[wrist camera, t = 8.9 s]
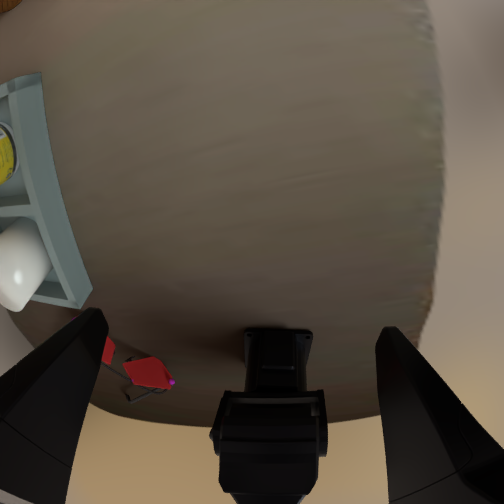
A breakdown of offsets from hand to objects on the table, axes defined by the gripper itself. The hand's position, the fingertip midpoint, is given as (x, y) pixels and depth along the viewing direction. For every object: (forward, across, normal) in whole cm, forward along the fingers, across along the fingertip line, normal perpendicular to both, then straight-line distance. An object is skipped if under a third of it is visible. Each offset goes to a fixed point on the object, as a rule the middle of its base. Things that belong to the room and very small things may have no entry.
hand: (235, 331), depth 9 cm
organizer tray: (+13, +22, +1) cm, 26 cm away
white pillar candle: (+12, +22, +6) cm, 26 cm away
